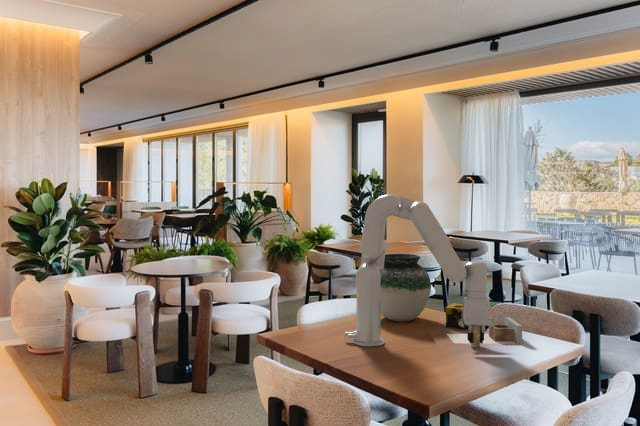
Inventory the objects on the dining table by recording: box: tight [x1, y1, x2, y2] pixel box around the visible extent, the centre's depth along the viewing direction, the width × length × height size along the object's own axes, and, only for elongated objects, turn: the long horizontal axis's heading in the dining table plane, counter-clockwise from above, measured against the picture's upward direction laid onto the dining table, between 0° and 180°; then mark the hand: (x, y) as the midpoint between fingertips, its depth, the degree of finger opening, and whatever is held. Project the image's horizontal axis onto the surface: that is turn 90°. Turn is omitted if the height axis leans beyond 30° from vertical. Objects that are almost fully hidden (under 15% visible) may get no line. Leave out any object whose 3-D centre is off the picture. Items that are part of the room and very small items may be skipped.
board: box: [446, 316, 523, 345], centre depth 206 cm, size 26×14×8 cm, turn 89°
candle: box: [445, 303, 467, 331], centre depth 226 cm, size 10×10×10 cm
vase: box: [380, 253, 432, 322], centre depth 243 cm, size 28×28×30 cm
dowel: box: [470, 325, 481, 349], centre depth 195 cm, size 3×3×12 cm
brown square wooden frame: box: [488, 323, 514, 341], centre depth 206 cm, size 8×8×5 cm
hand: (475, 342), depth 195 cm, fingers closed on dowel, 3 cm apart
